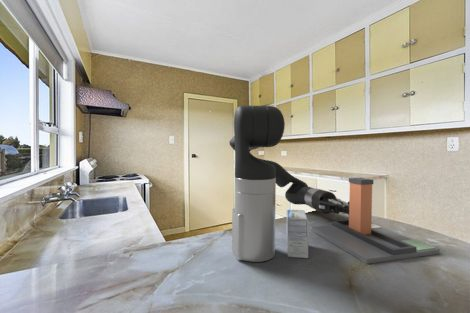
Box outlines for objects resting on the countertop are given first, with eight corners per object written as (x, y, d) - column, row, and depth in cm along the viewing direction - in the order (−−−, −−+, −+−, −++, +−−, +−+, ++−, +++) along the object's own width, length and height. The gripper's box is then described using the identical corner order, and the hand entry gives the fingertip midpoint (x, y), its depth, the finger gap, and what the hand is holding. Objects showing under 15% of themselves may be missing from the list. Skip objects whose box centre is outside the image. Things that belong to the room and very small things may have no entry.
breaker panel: (366, 263, 46) (366, 253, 46) (311, 229, 65) (311, 222, 65) (439, 253, 50) (439, 244, 50) (367, 224, 70) (367, 217, 70)
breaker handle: (360, 235, 58) (361, 180, 57) (347, 229, 62) (348, 178, 61) (372, 234, 59) (373, 179, 58) (359, 228, 63) (360, 177, 62)
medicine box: (308, 259, 48) (309, 219, 47) (287, 257, 48) (287, 218, 48) (304, 244, 55) (304, 209, 55) (286, 242, 56) (286, 208, 56)
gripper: (335, 209, 81) (376, 225, 64) (303, 211, 78) (336, 227, 61) (336, 189, 81) (377, 199, 64) (303, 190, 77) (337, 200, 61)
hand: (357, 213), depth 62 cm, fingers closed
